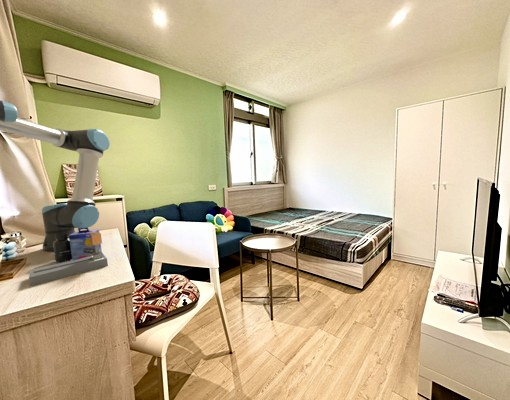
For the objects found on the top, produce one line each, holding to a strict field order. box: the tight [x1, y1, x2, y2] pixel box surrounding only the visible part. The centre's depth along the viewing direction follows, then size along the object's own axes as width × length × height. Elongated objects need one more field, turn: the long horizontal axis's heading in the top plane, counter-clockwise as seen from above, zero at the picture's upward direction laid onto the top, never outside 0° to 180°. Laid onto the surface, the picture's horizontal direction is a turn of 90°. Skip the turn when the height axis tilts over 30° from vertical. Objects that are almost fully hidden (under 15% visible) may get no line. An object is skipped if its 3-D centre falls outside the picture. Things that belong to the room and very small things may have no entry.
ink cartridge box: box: [69, 227, 103, 261], centre depth 96 cm, size 10×6×14 cm, turn 113°
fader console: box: [28, 253, 109, 287], centre depth 83 cm, size 22×9×3 cm, turn 134°
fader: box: [90, 231, 104, 259], centre depth 89 cm, size 3×6×10 cm, turn 44°
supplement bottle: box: [53, 232, 72, 263], centre depth 96 cm, size 7×7×12 cm
